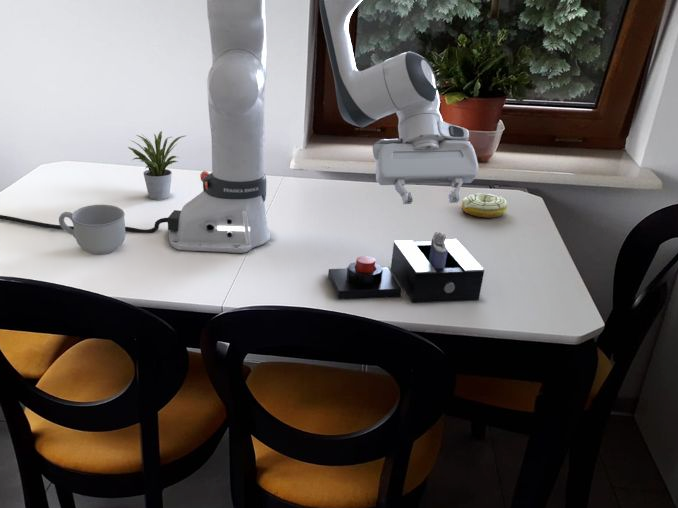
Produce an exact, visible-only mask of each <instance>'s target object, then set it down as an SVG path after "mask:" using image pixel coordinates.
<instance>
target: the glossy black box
mask: <svg viewBox="0 0 678 508" xmlns="http://www.w3.org/2000/svg"><path fill="white" fill-rule="evenodd" d="M431 242H432V240H430V241H429V240H428V241H427V240H426V241H414V240H412V239H411V240H394V241H393V246H392V255H391V263H390V272H391V273H392V275H393V276H394V278H395V280H396V281H397V283H398V284H399V286H400V287H401V289H403V291H404V292H405V294H406V296H407V297H408V299H409V300H410V302H411V303H412V304H414V303H415V304H416V303H417V304H418V303H444V302H445V303H446V302H467V301H468V302H469V301H472V302H473V301H479V300H480V296H481V290H482V285H483V279H484V275H485V268H484V267H483V266H482V265H481V264H480V263H479V262H478V261H477V260H476V259H475V258H474V256H473V255H472V254H471V253H470V252H469V251H468V250H467V249H466V248H465V247H464V246H463V245H462V244H461V242H460V241H459V240H457V238H451V239H449V238H447V239H445V246H446V248H447V250H448V253H447V258H446V263H445V268H435V269H434V268H433V266H432V265H431V264H430V263H429V256H430V250H431Z"/></svg>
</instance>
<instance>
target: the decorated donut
mask: <svg viewBox="0 0 678 508" xmlns="http://www.w3.org/2000/svg"><path fill="white" fill-rule="evenodd" d="M461 202H462V203H461V210H462V211H463V212H465V213H466V214H469V215H471V216H476V217H477V218H481V217H482V218H487V219H488V218H491V219H492V218H498V217H501V216H502V215H504V214H505V213H506V211H507V208H508V202H507V200H506V198H503V197H502V196H500V195H497V194H493V193H473V194H470V195H466V196H465V197H464V198H462V201H461Z"/></svg>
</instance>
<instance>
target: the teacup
mask: <svg viewBox="0 0 678 508" xmlns="http://www.w3.org/2000/svg"><path fill="white" fill-rule="evenodd" d="M125 215H126V213H125V211H124V210H123V209H122V208H120V207H119V206H116V205H111V204H91V205H86V206H83V207H80V208H78V209H76V210H75V211H73V212H70V211H64V212H62V213H61V214H60V215H59V217H58V223H59V224H58V225H60V226H61V227H62V229H64V230H63V231H65V232H66V233H68V234H69V235H71V236H73V238H74V239H75V242H76V243H77V245H78V246H79V247H80V248H81V249H82V250H85V251H86V252H87V253H90V254H92V255H106V254H110V253H113V252H115V251H116V250H117V249H119V248H120V247H121V246H122V245H123V244H124V242H125V239H126V231H125V227H126V223H125V222H126V220H125ZM65 218H67V219H70V221H71V223H72V225H73V227H74V230H73V229H71V228H70V227H69V226H70V225H68V224H67V223H66V222H65Z"/></svg>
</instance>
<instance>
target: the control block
mask: <svg viewBox="0 0 678 508" xmlns="http://www.w3.org/2000/svg"><path fill="white" fill-rule="evenodd" d="M327 277H328V280H329V282H330V285H331V286H332V288H333V289H332V290H333V292H334V293H335V295H336V297H337V299H338V300H363V299H386V298H387V299H389V298H391V299H392V298H401V297H402V296H401V295H402V286H401V285H400V283H399V282H398V280H397V279H396V277H395V276H394V274H393V272H392V271H391V269H389V267H388V266H381V265H380V264H378V263H376V262H375V270H374V272H371V273H364V272H359V271H357V270H356V261H354V262H350V263H349V265H347V267H346V268H328V274H327Z"/></svg>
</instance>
